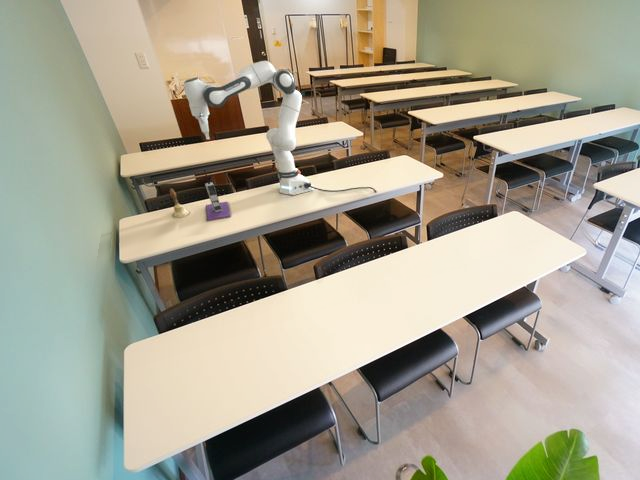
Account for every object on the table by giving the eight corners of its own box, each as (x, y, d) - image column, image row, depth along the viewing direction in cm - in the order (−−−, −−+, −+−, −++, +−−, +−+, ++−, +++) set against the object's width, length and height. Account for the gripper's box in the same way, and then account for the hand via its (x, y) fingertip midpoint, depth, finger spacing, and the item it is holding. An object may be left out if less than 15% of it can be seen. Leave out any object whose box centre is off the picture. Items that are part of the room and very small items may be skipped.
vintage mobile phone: (215, 212, 203) (202, 171, 188) (213, 209, 206) (200, 169, 191) (222, 211, 205) (209, 170, 190) (220, 208, 208) (207, 168, 193)
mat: (227, 202, 216) (227, 201, 216) (230, 216, 200) (230, 215, 200) (206, 206, 212) (206, 204, 211) (208, 220, 196) (207, 219, 195)
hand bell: (169, 216, 200) (159, 190, 191) (181, 210, 206) (171, 185, 197) (180, 218, 198) (170, 192, 189) (192, 212, 204) (182, 187, 195)
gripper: (207, 114, 183) (214, 141, 191) (205, 108, 198) (213, 132, 206) (194, 115, 181) (202, 142, 189) (193, 108, 196) (201, 133, 204)
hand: (207, 137), depth 197 cm, fingers open, 8 cm apart
